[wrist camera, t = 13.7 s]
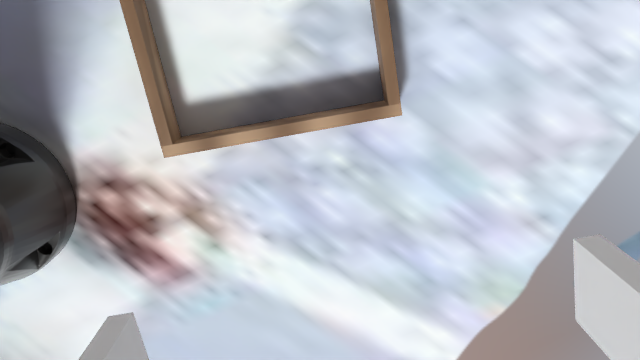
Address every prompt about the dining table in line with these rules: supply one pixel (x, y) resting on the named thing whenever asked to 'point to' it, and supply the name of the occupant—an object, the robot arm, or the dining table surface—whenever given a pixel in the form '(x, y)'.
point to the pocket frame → (178, 145)
